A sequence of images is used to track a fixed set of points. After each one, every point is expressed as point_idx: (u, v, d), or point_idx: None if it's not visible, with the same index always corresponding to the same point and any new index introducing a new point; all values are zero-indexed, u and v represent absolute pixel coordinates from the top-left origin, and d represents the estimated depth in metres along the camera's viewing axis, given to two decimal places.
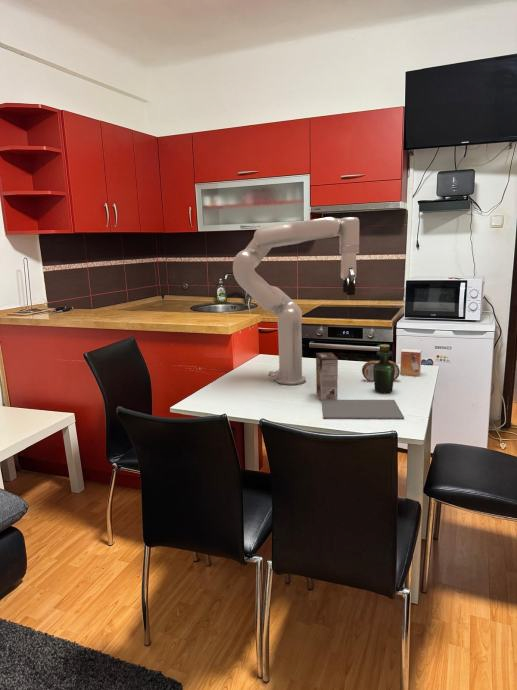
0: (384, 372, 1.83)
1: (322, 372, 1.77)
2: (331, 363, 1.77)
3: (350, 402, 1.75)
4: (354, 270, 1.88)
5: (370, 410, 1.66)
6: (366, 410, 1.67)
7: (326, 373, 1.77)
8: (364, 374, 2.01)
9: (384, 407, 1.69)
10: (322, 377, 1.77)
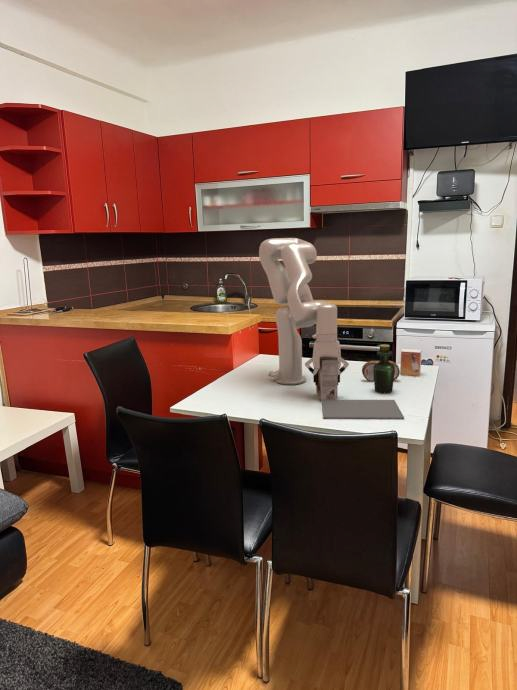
0: (384, 373, 1.83)
1: (322, 372, 1.77)
2: (331, 363, 1.76)
3: (350, 402, 1.75)
4: None
5: (370, 410, 1.66)
6: (366, 410, 1.67)
7: (326, 373, 1.77)
8: (364, 374, 2.01)
9: (384, 407, 1.69)
10: (322, 377, 1.77)
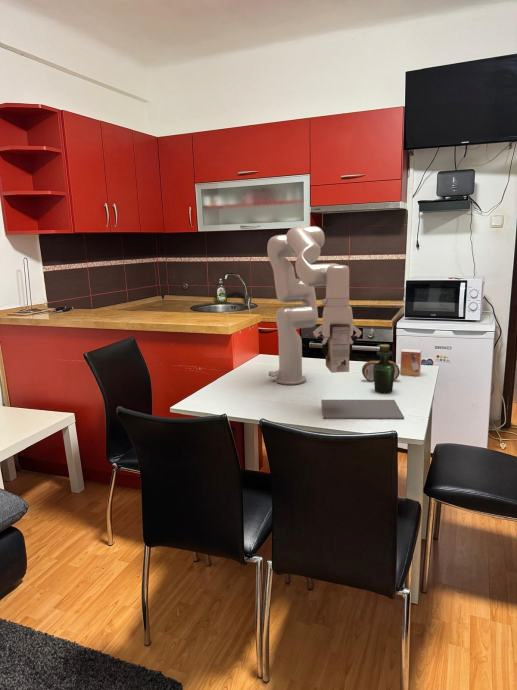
0: (384, 372, 1.83)
1: (333, 340, 1.60)
2: (343, 330, 1.60)
3: (350, 402, 1.75)
4: None
5: (370, 410, 1.66)
6: (366, 410, 1.67)
7: (337, 341, 1.60)
8: (364, 374, 2.01)
9: (384, 407, 1.69)
10: (332, 346, 1.61)
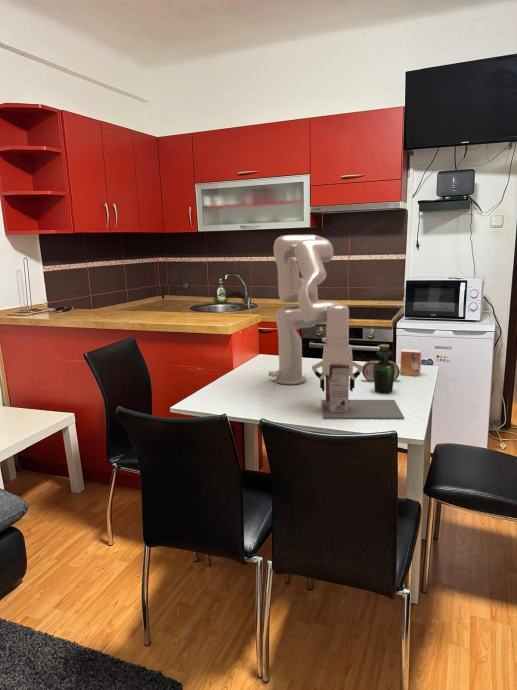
0: (384, 372, 1.83)
1: (332, 381, 1.63)
2: (342, 371, 1.63)
3: (350, 402, 1.75)
4: None
5: (370, 410, 1.66)
6: (366, 410, 1.67)
7: (336, 382, 1.63)
8: (364, 374, 2.01)
9: (384, 407, 1.69)
10: (332, 387, 1.64)
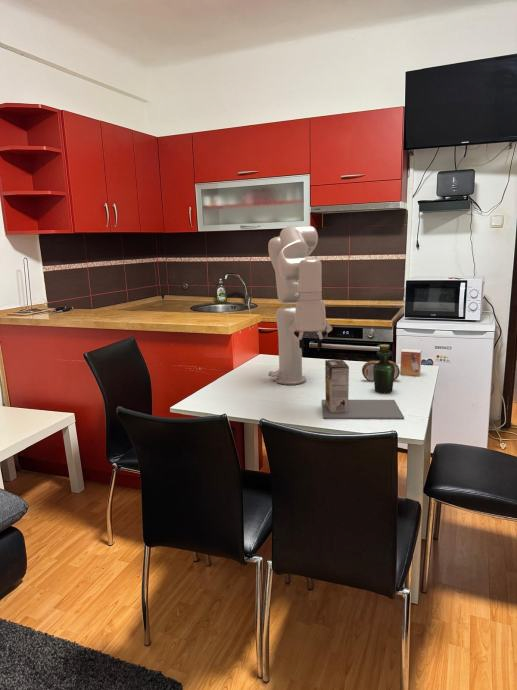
0: (384, 372, 1.83)
1: (332, 381, 1.63)
2: (342, 372, 1.63)
3: (350, 402, 1.75)
4: None
5: (370, 410, 1.66)
6: (366, 410, 1.67)
7: (336, 382, 1.63)
8: (364, 374, 2.01)
9: (384, 407, 1.69)
10: (332, 387, 1.64)
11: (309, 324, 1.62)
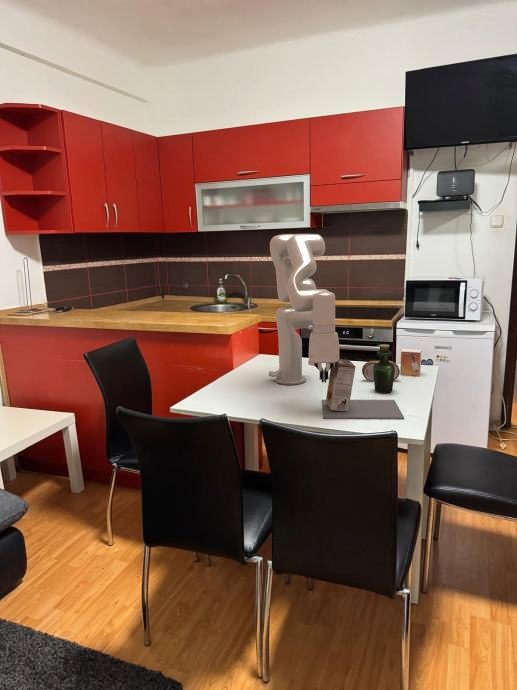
0: (384, 372, 1.83)
1: (336, 379, 1.63)
2: (348, 371, 1.63)
3: (350, 402, 1.75)
4: None
5: (370, 410, 1.66)
6: (366, 410, 1.67)
7: (341, 380, 1.63)
8: (364, 374, 2.01)
9: (384, 407, 1.69)
10: (336, 384, 1.64)
11: (323, 356, 1.63)
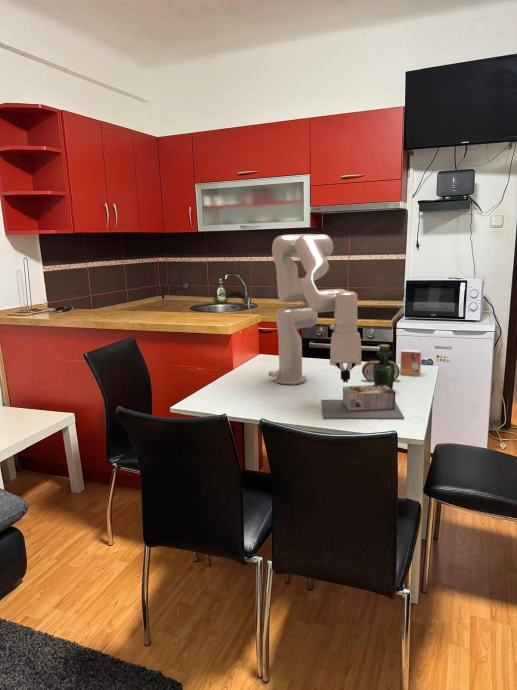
0: (384, 372, 1.83)
1: (380, 393, 1.65)
2: (389, 402, 1.66)
3: None
4: None
5: (370, 410, 1.66)
6: (366, 410, 1.67)
7: (379, 398, 1.66)
8: (364, 374, 2.01)
9: None
10: (375, 394, 1.65)
11: (345, 356, 1.63)
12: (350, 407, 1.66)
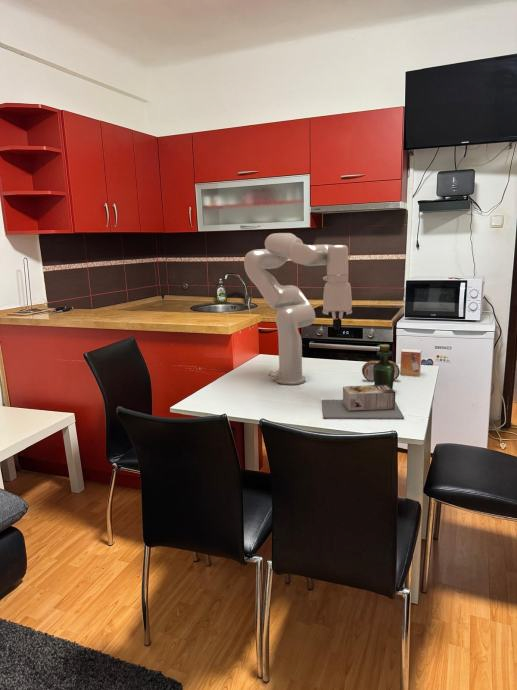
0: (384, 372, 1.83)
1: (380, 393, 1.65)
2: (389, 402, 1.66)
3: None
4: None
5: (370, 410, 1.66)
6: (366, 410, 1.67)
7: (379, 398, 1.66)
8: (364, 374, 2.01)
9: None
10: (375, 394, 1.65)
11: (336, 305, 1.76)
12: (350, 407, 1.66)
